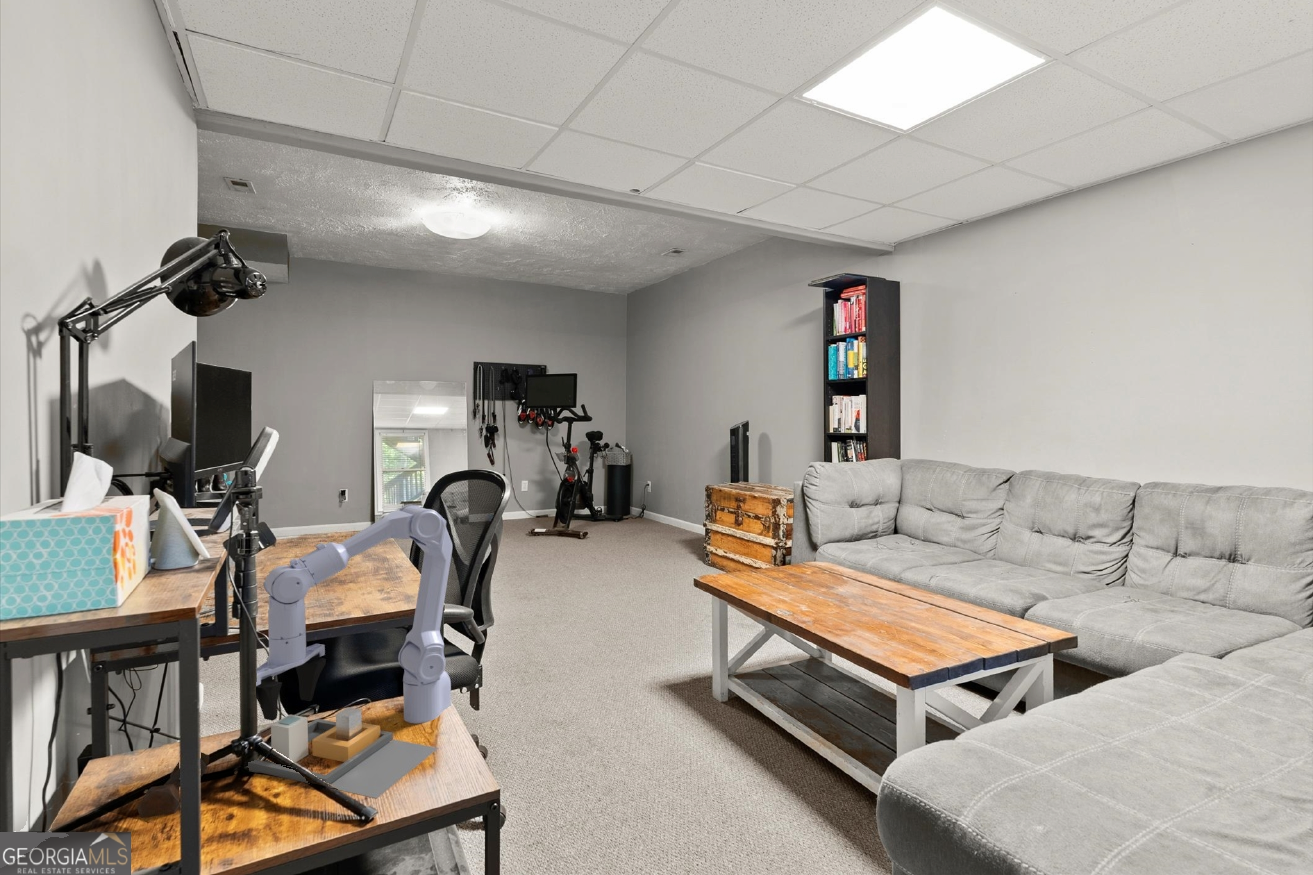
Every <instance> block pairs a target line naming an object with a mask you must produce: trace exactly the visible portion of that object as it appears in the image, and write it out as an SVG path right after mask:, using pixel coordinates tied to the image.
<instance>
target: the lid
mask: <svg viewBox="0 0 1313 875" xmlns="http://www.w3.org/2000/svg"><path fill="white" fill-rule="evenodd" d="M437 750H439V747H437V746H436V747H435V746H429V745H424V744H419V743H414V742H408V741H405V740H398V739H393V740H392V741H390V742H389V743H387V744H386V745H385V746H383V747H382V748H380V749H379V750H378V751H376V752H375V753H373V754H372V755H371V756H369V757H368V758H366V759H365V760H363V761H362V762H361V763H359V764H358V765H356V766H355V767H354V768H352V769H351V770H349V771H348V772H347V773H345V774H344V775H342V776H341V777H340V778H338V779H337V780H335V781H334V782H333V783H331V784H330V785H333V786H334V787H335V788H337V789H338V790H337V791H340V790H341V792H345V793H350V794H353V795H359V796H363V797H367V798H372V799H376V800H377V799H379V797H381V795H383V794H384V793H385V792H386V791H388V790H389V789H391V788H392V787H393V786H394V785H395V784H397V782H399V781H400V780H402V779H403V778H405V777H406V776H407V775H408V774H409V773H410V772H411V771H413V770H414V769H415V768H417V767H418V766H419V765H420V764H421V763H422V762H423V761H425V760H427V758H428V757H429V756H431V755H432V754H434V753H435V752H436V751H437Z"/></svg>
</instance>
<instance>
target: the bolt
mask: <svg viewBox="0 0 1313 875" xmlns="http://www.w3.org/2000/svg"><path fill="white" fill-rule="evenodd" d="M200 752H201V751H200ZM209 762H210V755H209V754H207V753H205V752H201V777H202V776H203V775H204V774H205V772H206V770H207V768H208V767H207V766H208V765H209ZM179 808H180V806H179V761H178V762H177V763H176V766H175V767H174V768H173V770H172V772H171V773H170V778H169V779H168V780H166V782H165V783H164V784H163V785H158V786H157V785H156V786H151V787H150V788H149V789H148V790H147V791H146V793H145V794H144V796H143V797H142V799H141V801H140V802H139V804H138V806H137V812H138V815H139V816H140V817H141V819H143V818H151V817H152V818H153V817H158V816H165V815H174V814H175V813H176V811H177V810H178V809H179ZM145 822H146V823H149V824H151V822H150V821H145Z"/></svg>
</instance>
